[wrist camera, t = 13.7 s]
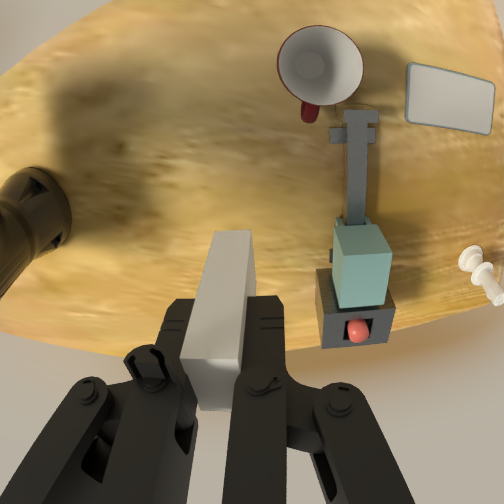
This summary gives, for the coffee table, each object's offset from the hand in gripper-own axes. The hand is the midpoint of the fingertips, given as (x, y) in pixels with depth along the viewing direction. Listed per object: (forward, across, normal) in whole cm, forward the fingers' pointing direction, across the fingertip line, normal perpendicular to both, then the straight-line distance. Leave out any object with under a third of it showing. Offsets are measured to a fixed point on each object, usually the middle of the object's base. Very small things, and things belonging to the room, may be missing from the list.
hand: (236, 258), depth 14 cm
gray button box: (+29, +12, -25) cm, 41 cm away
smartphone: (+30, +27, +4) cm, 40 cm away
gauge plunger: (+21, +12, -25) cm, 35 cm away
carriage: (+29, +12, -17) cm, 36 cm away
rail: (+29, +12, -10) cm, 33 cm away
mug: (+29, +7, +6) cm, 31 cm away
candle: (+29, +35, -21) cm, 51 cm away
